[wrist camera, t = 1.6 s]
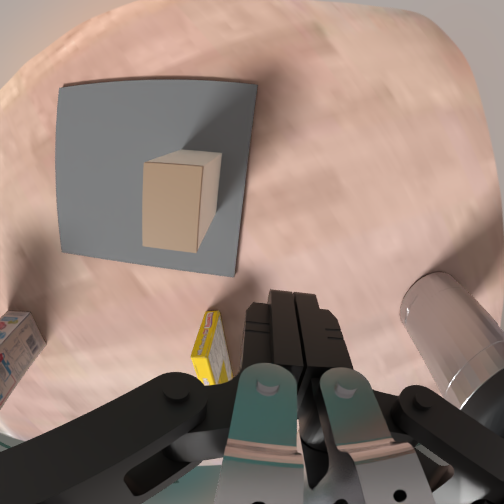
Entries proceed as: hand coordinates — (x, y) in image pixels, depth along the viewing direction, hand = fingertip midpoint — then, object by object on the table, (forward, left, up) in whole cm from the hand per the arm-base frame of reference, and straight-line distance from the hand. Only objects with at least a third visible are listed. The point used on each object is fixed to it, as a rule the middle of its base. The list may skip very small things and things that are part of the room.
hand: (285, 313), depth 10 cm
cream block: (+7, 0, -20) cm, 22 cm away
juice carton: (+37, +26, -21) cm, 50 cm away
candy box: (+3, +23, -21) cm, 31 cm away
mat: (+13, 0, -21) cm, 25 cm away
